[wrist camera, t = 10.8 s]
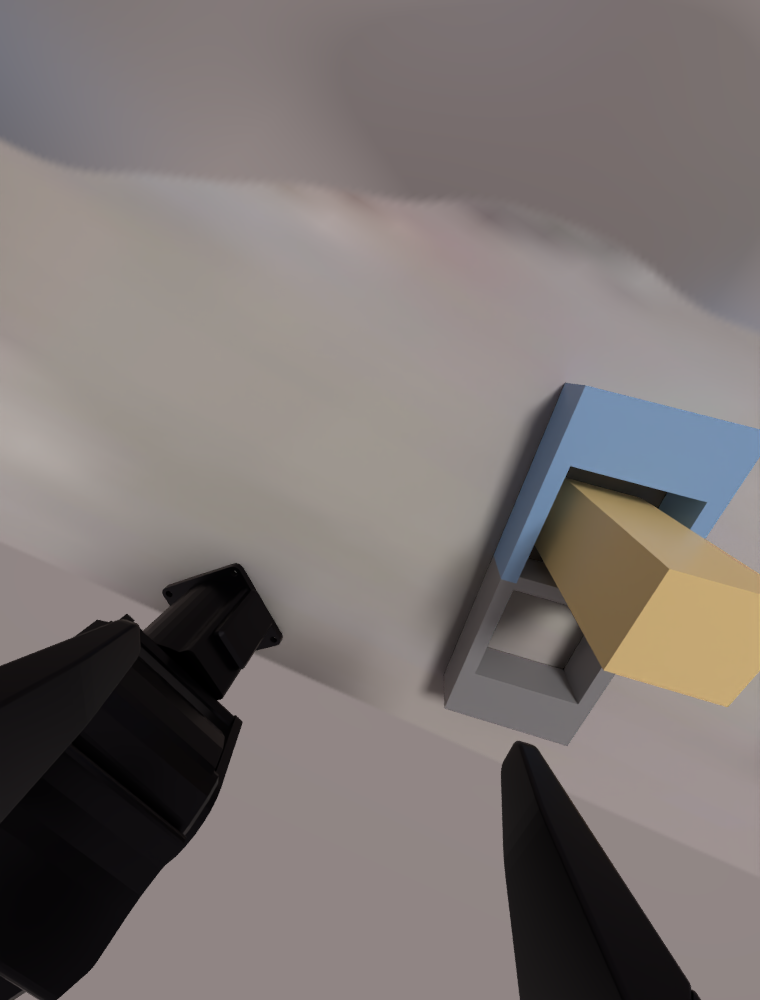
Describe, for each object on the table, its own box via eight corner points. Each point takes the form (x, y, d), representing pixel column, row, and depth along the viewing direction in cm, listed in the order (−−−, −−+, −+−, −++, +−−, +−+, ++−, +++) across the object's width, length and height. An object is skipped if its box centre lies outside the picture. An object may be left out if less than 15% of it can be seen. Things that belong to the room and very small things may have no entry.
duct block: (554, 708, 24) (567, 746, 21) (443, 675, 24) (444, 708, 22) (727, 423, 16) (775, 433, 14) (565, 382, 17) (585, 385, 15)
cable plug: (604, 563, 20) (727, 707, 11) (533, 543, 20) (603, 670, 12) (641, 498, 18) (814, 609, 10) (564, 477, 18) (669, 568, 10)
